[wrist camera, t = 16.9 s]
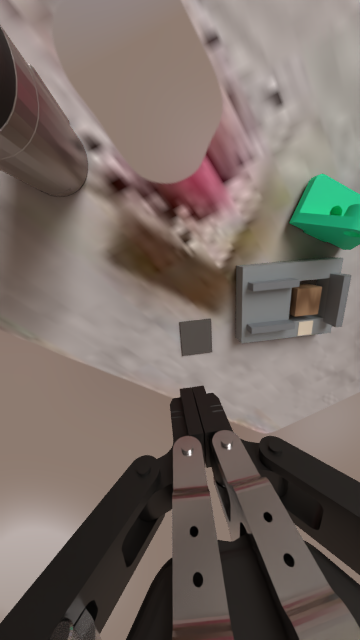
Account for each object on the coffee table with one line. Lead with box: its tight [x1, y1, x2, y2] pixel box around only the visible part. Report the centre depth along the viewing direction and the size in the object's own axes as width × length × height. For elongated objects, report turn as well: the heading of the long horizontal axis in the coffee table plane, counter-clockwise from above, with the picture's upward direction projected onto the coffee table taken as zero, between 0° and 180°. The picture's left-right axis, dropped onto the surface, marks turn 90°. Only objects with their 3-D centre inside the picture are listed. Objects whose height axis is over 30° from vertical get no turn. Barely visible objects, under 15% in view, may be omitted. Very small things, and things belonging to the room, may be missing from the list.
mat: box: [180, 319, 212, 356], centre depth 42 cm, size 7×6×1 cm
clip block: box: [289, 284, 322, 316], centre depth 40 cm, size 5×4×4 cm
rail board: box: [236, 257, 351, 343], centre depth 39 cm, size 14×18×6 cm
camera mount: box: [289, 174, 360, 250], centre depth 33 cm, size 12×8×10 cm, turn 69°
